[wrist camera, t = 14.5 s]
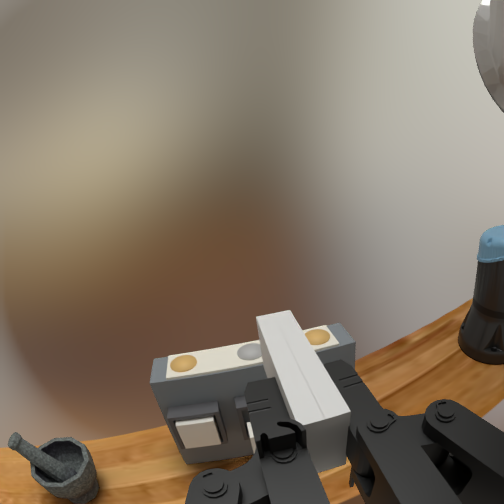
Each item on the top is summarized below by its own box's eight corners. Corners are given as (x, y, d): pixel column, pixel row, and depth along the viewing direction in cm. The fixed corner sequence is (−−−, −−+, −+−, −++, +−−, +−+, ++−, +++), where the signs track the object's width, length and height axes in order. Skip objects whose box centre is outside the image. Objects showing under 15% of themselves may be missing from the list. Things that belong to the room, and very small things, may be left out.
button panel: (338, 408, 45) (339, 319, 40) (355, 438, 38) (363, 347, 34) (185, 439, 42) (152, 355, 37) (186, 474, 36) (146, 391, 31)
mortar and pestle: (111, 464, 37) (76, 409, 33) (110, 512, 28) (65, 461, 25) (50, 466, 35) (12, 414, 31) (43, 510, 26) (-6, 459, 22)
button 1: (219, 430, 36) (212, 407, 35) (221, 444, 34) (213, 421, 32) (185, 435, 36) (176, 412, 34) (185, 448, 33) (175, 426, 32)
